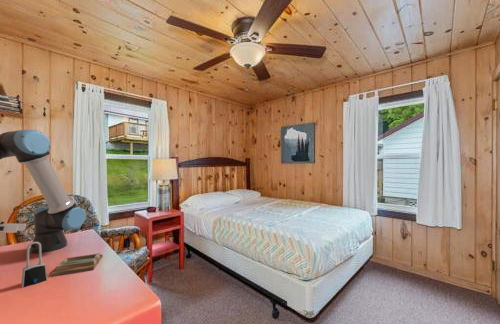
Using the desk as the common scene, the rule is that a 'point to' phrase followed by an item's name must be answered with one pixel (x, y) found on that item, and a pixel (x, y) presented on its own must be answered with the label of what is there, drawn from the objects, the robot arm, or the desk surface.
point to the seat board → (77, 264)
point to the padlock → (34, 270)
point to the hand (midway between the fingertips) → (21, 227)
